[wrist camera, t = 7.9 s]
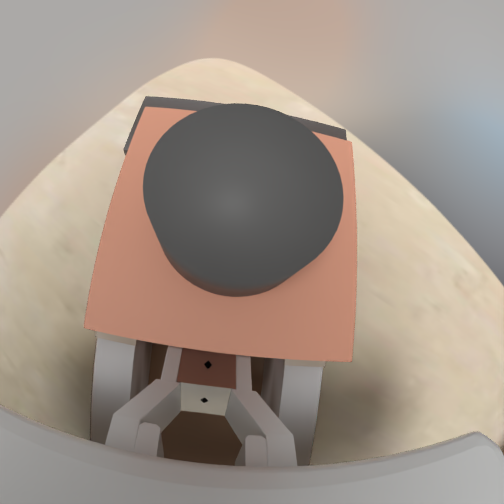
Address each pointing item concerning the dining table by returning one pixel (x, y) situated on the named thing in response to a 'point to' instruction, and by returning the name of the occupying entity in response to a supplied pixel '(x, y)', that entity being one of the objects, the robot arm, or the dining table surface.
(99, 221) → the dining table surface
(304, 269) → the pink block with knob
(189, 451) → the press housing
